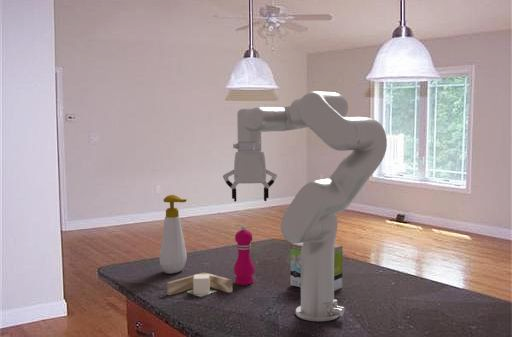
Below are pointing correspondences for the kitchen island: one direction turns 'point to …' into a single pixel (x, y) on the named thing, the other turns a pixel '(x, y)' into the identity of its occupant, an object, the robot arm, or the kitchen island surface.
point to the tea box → (296, 265)
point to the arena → (187, 284)
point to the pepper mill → (244, 258)
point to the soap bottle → (172, 239)
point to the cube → (201, 283)
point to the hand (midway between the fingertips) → (250, 200)
